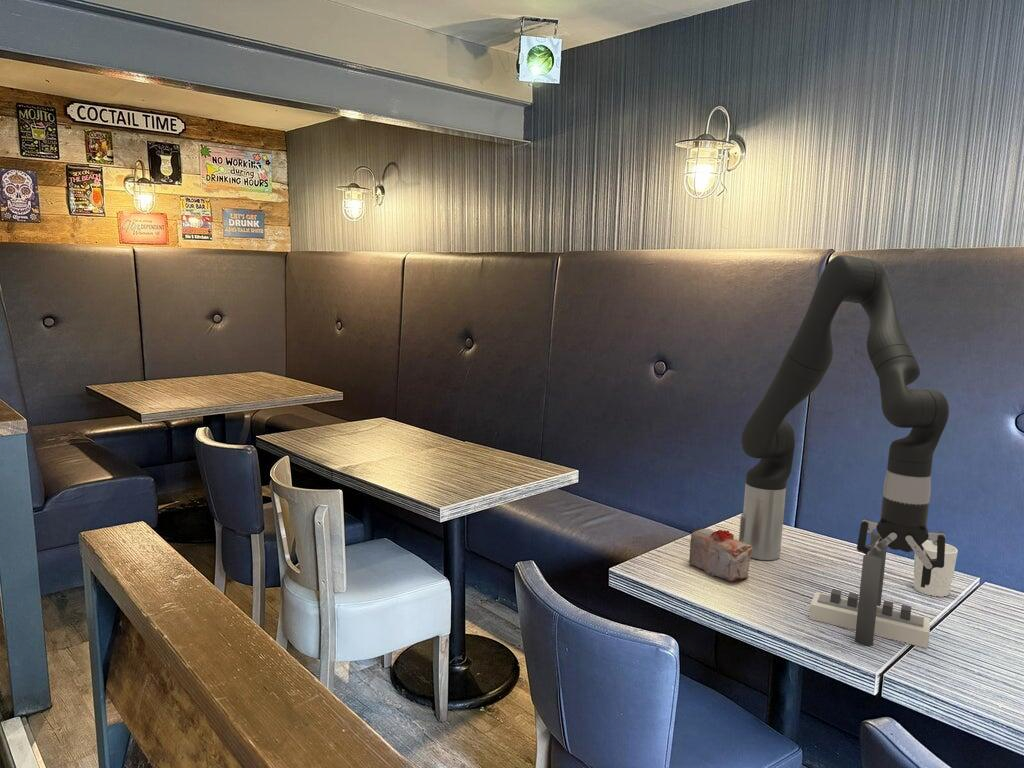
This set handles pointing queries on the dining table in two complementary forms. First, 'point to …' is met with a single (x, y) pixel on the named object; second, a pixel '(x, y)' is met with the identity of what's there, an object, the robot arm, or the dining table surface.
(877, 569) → the dark grey post
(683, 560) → the dining table surface
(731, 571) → the food item
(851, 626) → the breaker panel
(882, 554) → the dark grey cylinder rod
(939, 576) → the white cup
